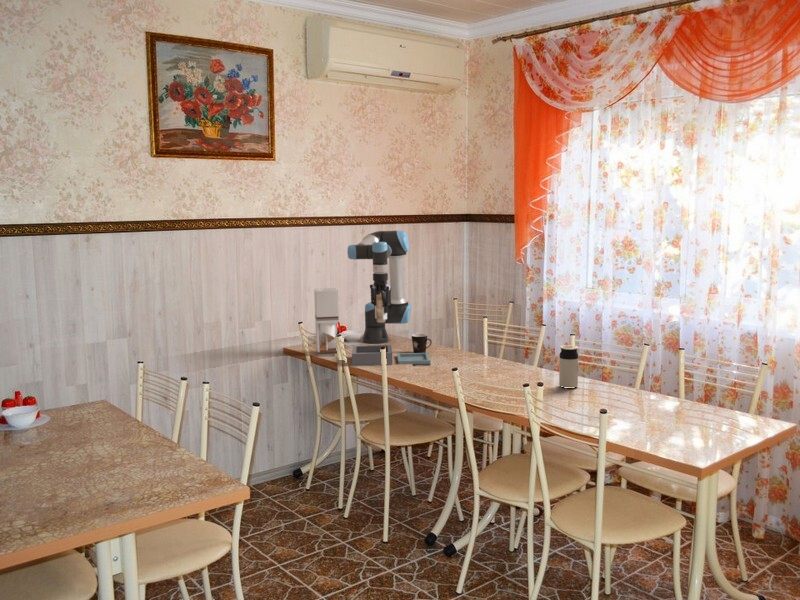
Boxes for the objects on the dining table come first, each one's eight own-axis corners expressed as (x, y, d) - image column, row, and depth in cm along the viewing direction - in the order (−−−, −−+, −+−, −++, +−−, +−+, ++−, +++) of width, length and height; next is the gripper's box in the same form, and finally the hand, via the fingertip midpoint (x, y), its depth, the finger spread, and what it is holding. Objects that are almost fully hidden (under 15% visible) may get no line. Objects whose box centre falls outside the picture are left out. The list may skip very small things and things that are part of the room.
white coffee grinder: (318, 356, 401) (316, 291, 396) (316, 352, 411) (314, 288, 406) (339, 355, 403) (337, 290, 398) (337, 351, 413) (335, 288, 408)
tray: (397, 358, 394) (397, 353, 393) (427, 357, 394) (427, 352, 394) (398, 366, 376) (398, 361, 375) (430, 365, 376) (430, 360, 376)
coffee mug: (408, 352, 406) (408, 334, 405) (423, 351, 410) (422, 333, 409) (418, 356, 396) (418, 338, 395) (433, 355, 400) (432, 336, 398)
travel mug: (557, 388, 329) (557, 347, 326) (561, 384, 336) (561, 344, 334) (575, 390, 326) (576, 349, 323) (579, 385, 333) (580, 345, 330)
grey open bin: (353, 358, 394) (352, 345, 393) (391, 357, 394) (391, 344, 393) (352, 367, 374) (351, 353, 373) (392, 366, 375) (392, 352, 374)
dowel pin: (376, 321, 384) (376, 294, 382) (385, 321, 384) (385, 293, 382) (376, 322, 379) (376, 295, 377) (385, 322, 379) (385, 295, 377)
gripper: (362, 272, 381) (363, 317, 385) (387, 274, 369) (388, 321, 372) (373, 271, 387) (374, 316, 390) (398, 273, 374) (398, 319, 378)
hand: (381, 318), depth 381 cm, fingers closed on dowel pin, 4 cm apart
